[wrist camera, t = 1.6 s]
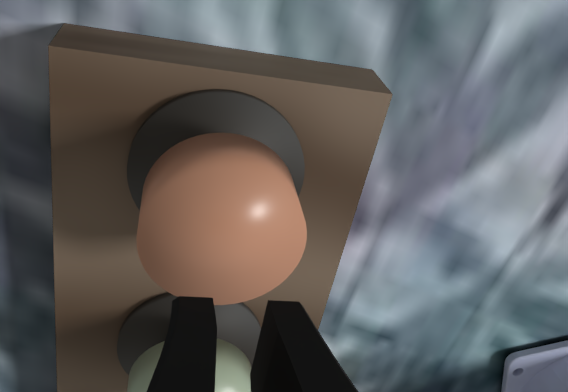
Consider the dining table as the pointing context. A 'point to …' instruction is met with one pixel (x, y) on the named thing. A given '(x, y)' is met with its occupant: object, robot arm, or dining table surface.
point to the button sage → (228, 376)
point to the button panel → (156, 141)
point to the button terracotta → (220, 219)
